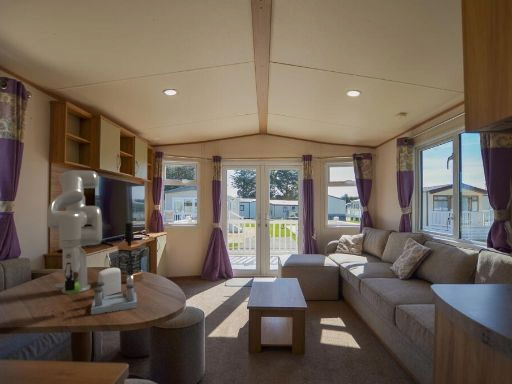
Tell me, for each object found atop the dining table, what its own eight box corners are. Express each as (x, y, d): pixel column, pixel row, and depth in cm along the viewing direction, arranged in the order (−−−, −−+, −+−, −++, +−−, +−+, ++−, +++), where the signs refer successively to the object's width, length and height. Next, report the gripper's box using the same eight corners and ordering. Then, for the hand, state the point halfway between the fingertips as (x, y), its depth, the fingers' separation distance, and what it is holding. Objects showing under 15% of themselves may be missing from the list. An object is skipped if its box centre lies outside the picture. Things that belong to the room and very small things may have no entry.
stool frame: (91, 314, 120) (90, 291, 120) (94, 303, 133) (94, 282, 133) (137, 307, 127) (136, 286, 127) (136, 297, 140) (135, 277, 140)
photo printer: (100, 298, 140) (100, 271, 140) (96, 296, 143) (96, 269, 143) (122, 292, 148) (122, 266, 148) (118, 290, 151) (118, 265, 151)
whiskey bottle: (115, 281, 167) (115, 223, 167) (129, 277, 176) (128, 221, 176) (130, 283, 163) (129, 223, 163) (143, 278, 172) (142, 222, 172)
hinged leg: (133, 298, 131) (133, 279, 131) (126, 299, 129) (126, 280, 130) (133, 292, 138) (133, 274, 138) (126, 293, 137) (126, 275, 137)
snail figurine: (66, 292, 126) (66, 263, 125) (83, 292, 126) (82, 263, 126) (59, 297, 120) (58, 267, 120) (76, 296, 121) (75, 267, 120)
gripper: (78, 246, 116) (78, 293, 117) (83, 238, 132) (84, 280, 132) (54, 248, 113) (55, 296, 114) (63, 240, 129) (64, 282, 129)
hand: (71, 287), depth 123 cm, fingers closed on snail figurine, 5 cm apart
